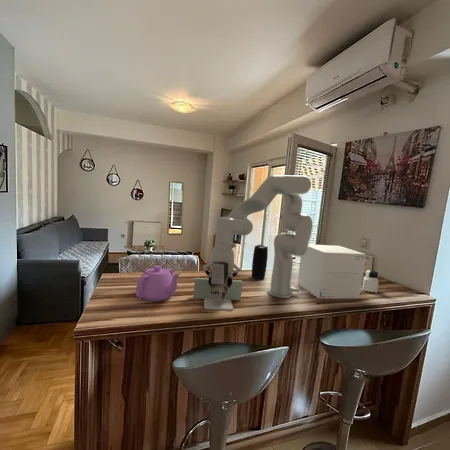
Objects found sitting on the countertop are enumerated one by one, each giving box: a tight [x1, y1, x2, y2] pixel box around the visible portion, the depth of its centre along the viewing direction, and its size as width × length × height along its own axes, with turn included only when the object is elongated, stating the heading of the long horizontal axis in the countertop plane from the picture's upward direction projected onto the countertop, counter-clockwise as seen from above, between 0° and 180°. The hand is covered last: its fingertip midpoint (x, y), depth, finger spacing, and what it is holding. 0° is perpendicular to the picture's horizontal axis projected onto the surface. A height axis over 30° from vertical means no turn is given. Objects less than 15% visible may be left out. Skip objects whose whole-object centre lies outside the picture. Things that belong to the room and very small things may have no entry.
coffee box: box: [210, 262, 230, 302], centre depth 114 cm, size 9×6×16 cm
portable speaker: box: [251, 244, 269, 281], centre depth 160 cm, size 9×9×20 cm
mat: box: [203, 298, 234, 311], centre depth 116 cm, size 12×10×1 cm
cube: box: [296, 243, 367, 299], centre depth 147 cm, size 25×21×24 cm
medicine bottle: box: [361, 269, 379, 294], centre depth 154 cm, size 7×7×12 cm
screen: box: [192, 277, 244, 301], centre depth 122 cm, size 22×1×9 cm, turn 95°
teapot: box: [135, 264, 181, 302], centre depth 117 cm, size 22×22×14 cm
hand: (219, 285), depth 115 cm, fingers closed on coffee box, 7 cm apart
